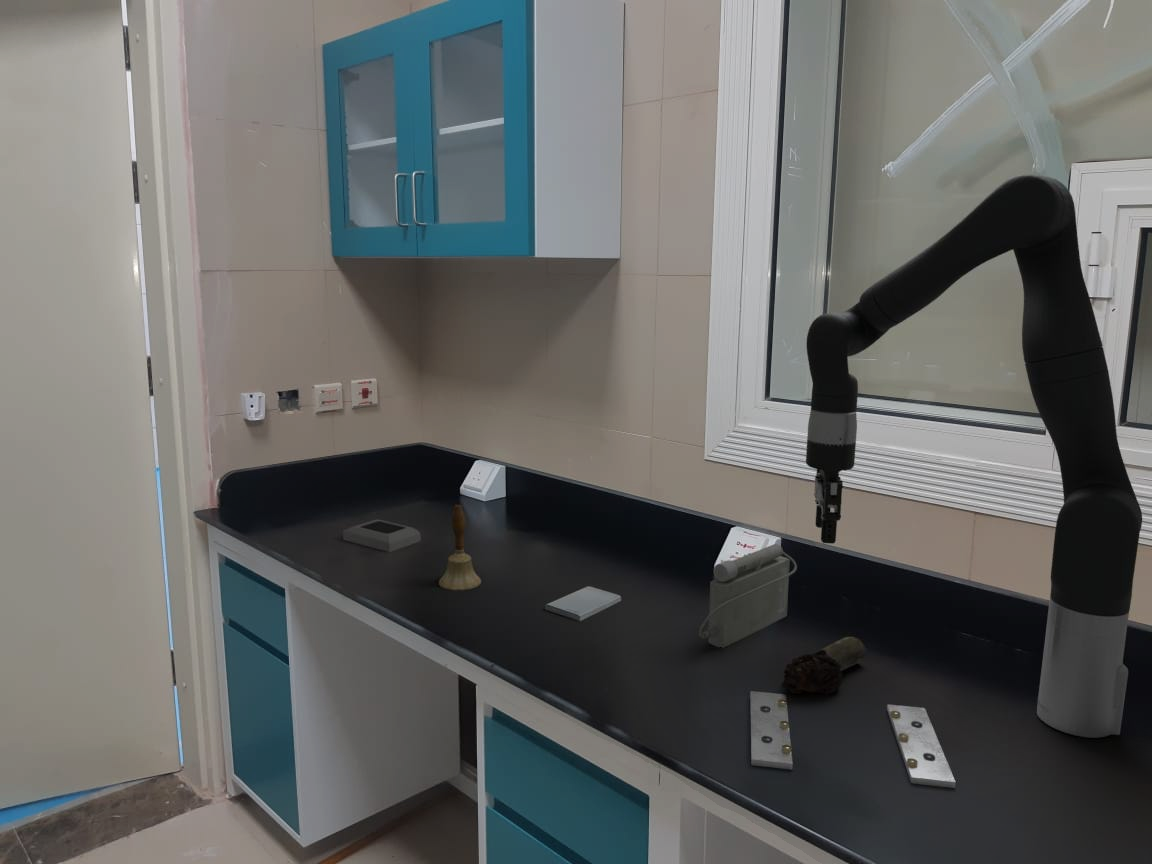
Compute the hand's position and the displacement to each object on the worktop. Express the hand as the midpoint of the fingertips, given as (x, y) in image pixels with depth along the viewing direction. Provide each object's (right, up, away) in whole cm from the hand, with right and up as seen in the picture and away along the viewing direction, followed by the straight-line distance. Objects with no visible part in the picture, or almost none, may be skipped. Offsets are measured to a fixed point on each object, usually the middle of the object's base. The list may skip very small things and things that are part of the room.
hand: (824, 534), depth 140 cm
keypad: (-85, -9, +55) cm, 102 cm away
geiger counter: (-12, -18, +6) cm, 22 cm away
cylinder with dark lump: (-3, -21, -10) cm, 24 cm away
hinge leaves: (-5, -24, -27) cm, 36 cm away
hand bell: (-64, -13, +29) cm, 71 cm away
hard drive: (-39, -16, +18) cm, 46 cm away
